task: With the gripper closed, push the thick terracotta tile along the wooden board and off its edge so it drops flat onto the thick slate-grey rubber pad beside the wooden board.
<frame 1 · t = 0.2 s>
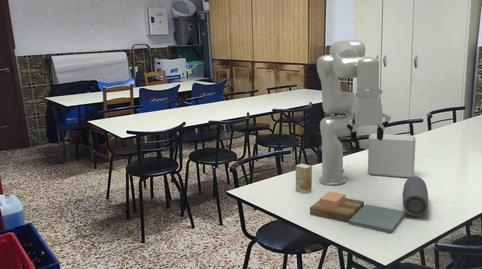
hand: (366, 140, 155), 31 cm above the table, tool pointing down, fingers open, 9 cm apart
bluetooth speaker: (414, 208, 170), on the table
bevelled white case: (390, 175, 210), on the table
wooden board: (337, 211, 170), on the table
mat: (377, 219, 161), on the table
tile: (332, 199, 171), point 4 cm above the table, touching wooden board
skincare box: (303, 191, 194), on the table
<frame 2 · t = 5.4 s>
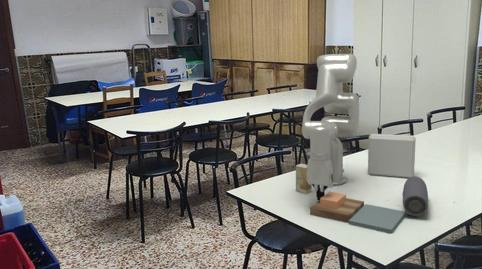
hand: (320, 199, 174), 4 cm above the table, tool pointing down, fingers closed
tile: (333, 200, 170), point 4 cm above the table, touching wooden board, gripper
everything else where it was.
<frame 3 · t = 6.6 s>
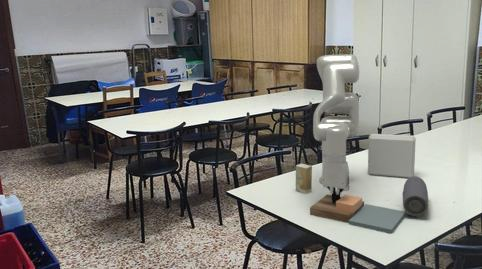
hand: (335, 202, 170), 4 cm above the table, tool pointing down, fingers closed
tile: (349, 203, 166), point 5 cm above the table, touching wooden board
everything else where it was.
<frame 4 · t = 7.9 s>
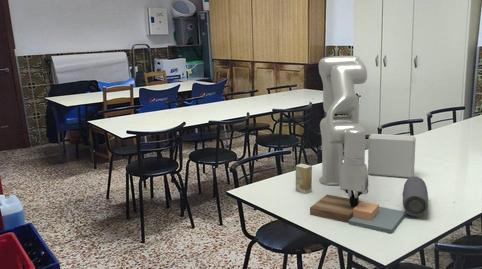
hand: (353, 205, 166), 4 cm above the table, tool pointing down, fingers closed
tile: (366, 210, 162), point 3 cm above the table, touching gripper
everything else where it was.
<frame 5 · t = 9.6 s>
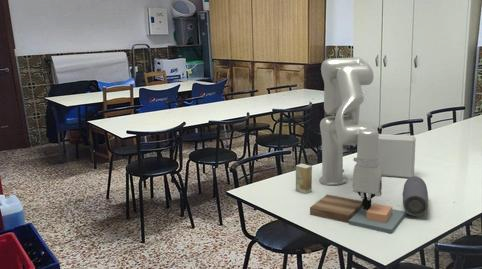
hand: (366, 208, 163), 4 cm above the table, tool pointing down, fingers closed
tile: (379, 212, 160), point 3 cm above the table, touching gripper, mat
everything else where it was.
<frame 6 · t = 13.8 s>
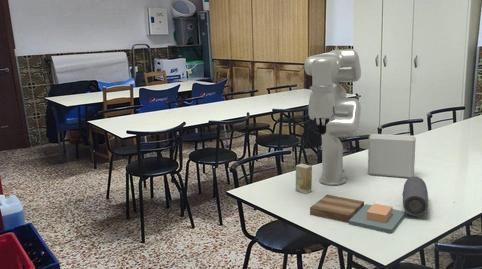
hand: (322, 133, 176), 29 cm above the table, tool pointing down, fingers closed
tile: (379, 212, 160), point 3 cm above the table, touching mat
everything else where it was.
at the end: tile point 3.0 cm above the table; tile inside the target area (0.9 cm from its centre), point 3.0 cm above the table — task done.
